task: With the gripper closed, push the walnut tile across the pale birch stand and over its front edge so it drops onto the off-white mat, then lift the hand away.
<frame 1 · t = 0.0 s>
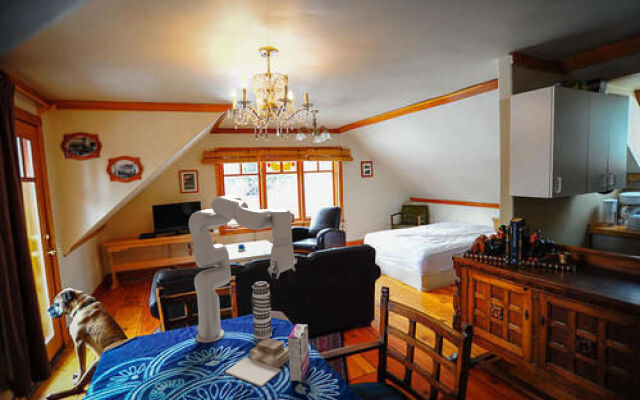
hand: (284, 284, 130), 31 cm above the table, tool pointing down, fingers open, 9 cm apart
decorative candle: (263, 335, 156), on the table
birch stand: (270, 359, 134), on the table
candy bar box: (299, 373, 124), on the table
walnut tile: (270, 349, 134), point 4 cm above the table, touching birch stand
off-white mat: (253, 371, 126), on the table
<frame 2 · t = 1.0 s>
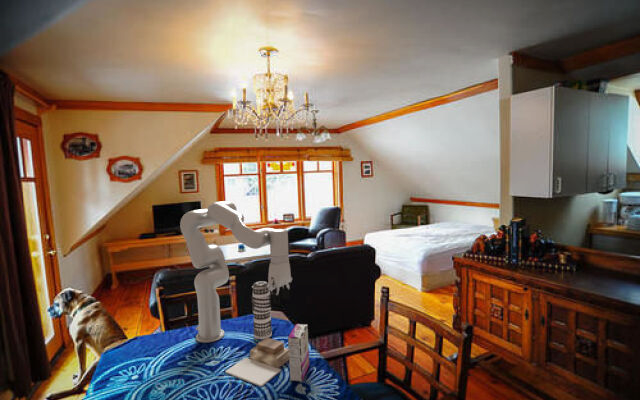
hand: (281, 300, 140), 21 cm above the table, tool pointing down, fingers open, 5 cm apart
nothing on the table moved.
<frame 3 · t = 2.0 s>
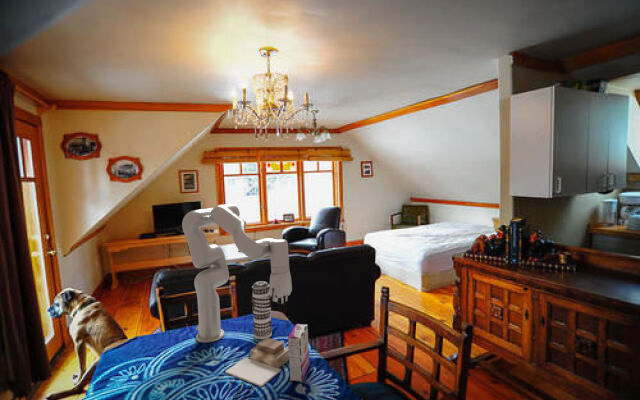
hand: (282, 311, 140), 17 cm above the table, tool pointing down, fingers closed
nothing on the table moved.
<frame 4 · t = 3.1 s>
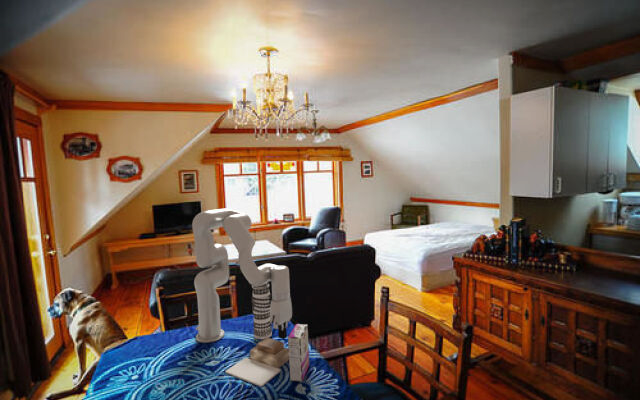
hand: (282, 337, 141), 5 cm above the table, tool pointing down, fingers closed
nothing on the table moved.
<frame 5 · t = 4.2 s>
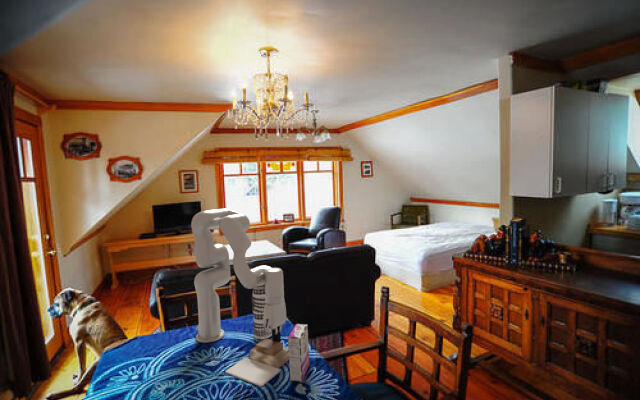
hand: (276, 341, 137), 5 cm above the table, tool pointing down, fingers closed
walnut tile: (269, 350, 134), point 4 cm above the table, touching birch stand, gripper
everything else where it was.
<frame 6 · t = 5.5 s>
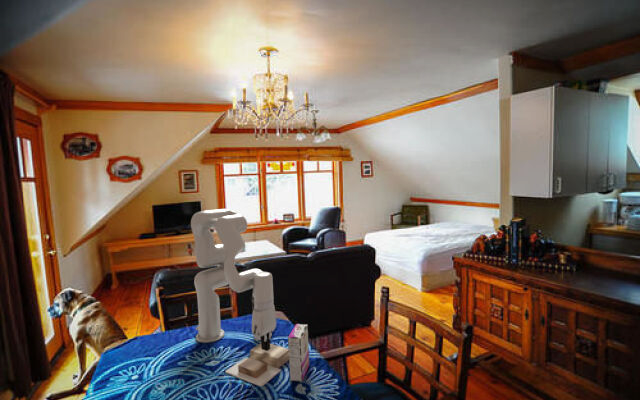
hand: (265, 349, 132), 5 cm above the table, tool pointing down, fingers closed
walnut tile: (252, 364, 125), point 3 cm above the table, tilted 180°, touching off-white mat
everything else where it was.
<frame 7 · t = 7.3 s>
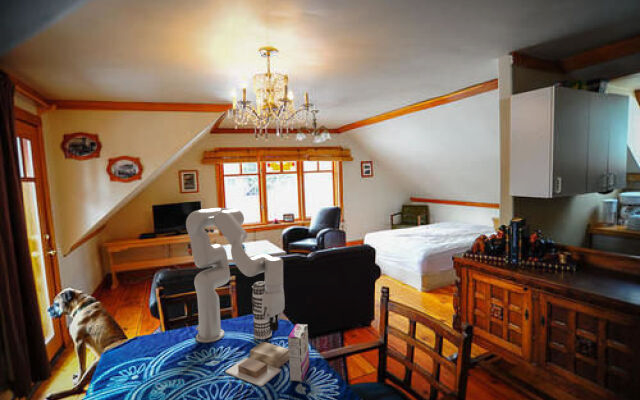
hand: (273, 329, 139), 10 cm above the table, tool pointing down, fingers closed
nothing on the table moved.
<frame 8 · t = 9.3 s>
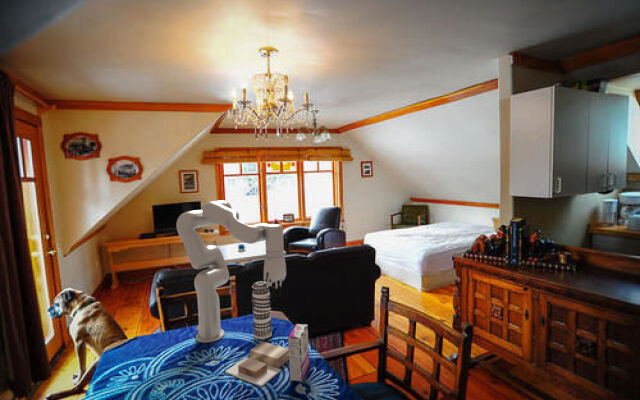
hand: (276, 296, 141), 23 cm above the table, tool pointing down, fingers closed
nothing on the table moved.
at the end: walnut tile inside the target area (0.5 cm from its centre), point 3.1 cm above the table; walnut tile touching off-white mat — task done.
